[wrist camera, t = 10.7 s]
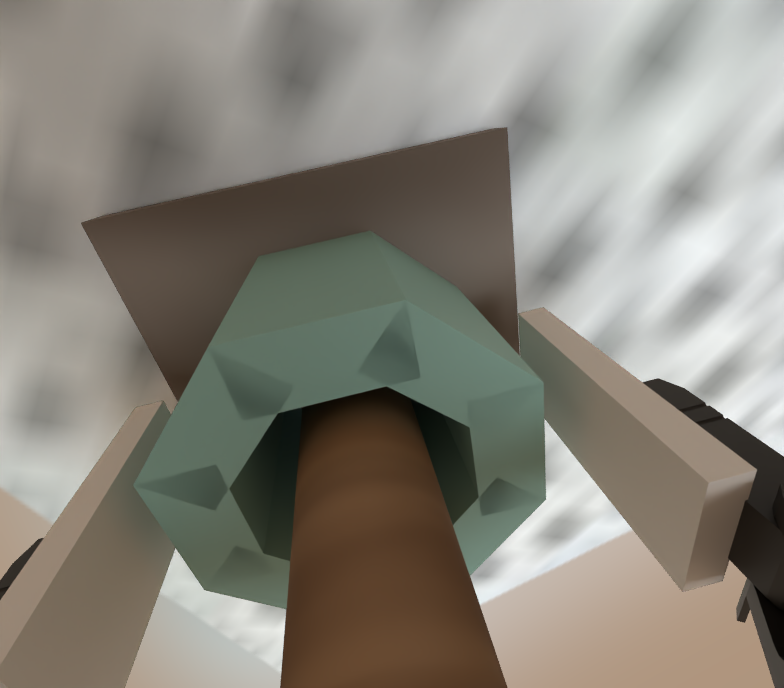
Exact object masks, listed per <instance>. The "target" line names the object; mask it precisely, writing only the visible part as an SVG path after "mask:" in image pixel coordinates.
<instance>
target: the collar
mask: <svg viewBox="0 0 784 688" xmlns="http://www.w3.org/2000/svg"><path fill="white" fill-rule="evenodd" d="M386 386H387V387H389V388H391V389H393V390H395V391H397V392H399V393H401V394H403V395H405V396H407V397H409V398H410V400H411V403H412V406H413V408H414V411H415V414H416V417H417V420H418V423H419V426H420V429H421V432H422V435H423V438H424V441H425V444H426V447H427V450H428V453H429V456H430V459H431V462H432V465H433V468H434V471H435V474H436V477H437V480H438V483H439V486H440V489H441V492H442V495H443V498H444V501H445V504H446V507H447V510H448V513H449V515H450V518H451V521H452V524H453V527H454V530H455V533H456V536H457V539H458V542H459V545H460V548H461V551H462V554H463V557H464V560H465V563H466V566H467V569H468V572H469V575H471V574H472V573H473V572H474V571H475V570H476V569H477V568H478V567H479V566H480V565H481V564H482V563H483V562H484V561H485V560H486V559H487V558H488V557H489V556H490V555H491V554H492V553H493V552H494V551H495V550H496V549H497V548H498V547H499V546H500V545H501V544H502V543H503V542H504V541H505V540H506V539H507V538H508V537H509V536H510V535H511V534H512V533H513V532H514V531H515V530H516V529H517V528H518V527H519V526H520V525H521V524H522V523H523V522H524V521H525V520H526V519H527V518H528V517H529V516H530V515H531V514H532V513H533V512H534V511H535V510H536V509H537V508H538V507H539V506H540V505H541V504H542V503H543V502H544V501H545V500H546V480H545V431H544V382H543V381H542V380H541V379H540V378H539V377H538V375H537V374H536V373H535V372H534V371H533V370H532V369H531V368H530V367H529V366H528V365H527V363H526V362H525V361H524V360H523V359H522V358H521V357H520V356H519V355H518V354H517V352H516V351H515V350H514V349H513V348H512V347H511V346H510V345H509V344H508V343H507V341H506V340H505V339H504V338H503V337H502V336H501V335H500V334H499V333H498V332H497V330H496V329H495V328H494V327H493V326H492V325H491V324H490V323H489V322H488V321H487V319H486V318H485V317H484V316H483V315H482V314H481V313H480V312H479V311H478V310H477V309H476V307H475V306H474V305H473V304H472V303H471V302H470V301H469V300H468V299H467V298H466V296H465V295H464V294H463V293H462V292H461V291H460V290H459V289H458V288H457V287H456V286H455V285H453V284H452V283H450V282H449V281H447V280H445V279H444V278H442V277H441V276H439V275H438V274H436V273H435V272H433V271H432V270H430V269H429V268H427V267H425V266H424V265H422V264H421V263H419V262H418V261H416V260H415V259H413V258H412V257H410V256H409V255H407V254H405V253H404V252H402V251H401V250H399V249H398V248H396V247H395V246H393V245H392V244H390V243H389V242H387V241H385V240H384V239H382V238H381V237H379V236H378V235H376V234H375V233H373V232H372V231H366V232H362V233H358V234H353V235H349V236H345V237H340V238H336V239H331V240H327V241H323V242H318V243H314V244H310V245H305V246H301V247H297V248H292V249H288V250H283V251H279V252H275V253H270V254H266V255H262V256H258V258H257V260H256V262H255V263H254V265H253V267H252V269H251V271H250V272H249V274H248V276H247V278H246V279H245V281H244V283H243V285H242V287H241V288H240V290H239V292H238V294H237V296H236V297H235V299H234V301H233V303H232V305H231V306H230V308H229V310H228V312H227V313H226V315H225V317H224V319H223V321H222V322H221V324H220V326H219V328H218V330H217V331H216V333H215V335H214V337H213V339H212V340H211V342H210V344H209V346H208V348H207V350H206V351H205V353H204V355H203V357H202V359H201V361H200V363H199V364H198V366H197V368H196V370H195V372H194V374H193V376H192V377H191V379H190V381H189V383H188V385H187V387H186V388H185V390H184V392H183V394H182V396H181V398H180V400H179V401H178V403H177V405H176V407H175V409H174V411H173V413H172V414H171V416H170V418H169V420H168V422H167V424H166V425H165V427H164V429H163V431H162V433H161V435H160V437H159V438H158V440H157V442H156V444H155V446H154V448H153V450H152V451H151V453H150V455H149V457H148V459H147V461H146V462H145V464H144V466H143V468H142V470H141V472H140V474H139V475H138V477H137V479H136V481H135V483H134V484H133V486H134V488H135V489H136V491H137V492H138V494H139V495H140V496H141V498H142V499H143V501H144V502H145V504H146V505H147V507H148V508H149V510H150V511H151V513H152V514H153V515H154V517H155V518H156V520H157V521H158V523H159V524H160V526H161V527H162V529H163V530H164V532H165V533H166V534H167V536H168V537H169V539H170V540H171V542H172V543H173V545H174V546H175V548H176V549H177V551H178V552H179V554H180V555H181V556H182V558H183V559H184V561H185V562H186V564H187V565H188V567H189V568H190V570H191V571H192V573H193V574H194V575H195V577H196V578H197V580H198V581H199V583H200V584H201V586H202V587H203V589H204V590H206V591H211V592H215V593H219V594H224V595H228V596H232V597H236V598H241V599H245V600H249V601H254V602H258V603H262V604H267V605H271V606H275V607H280V608H284V609H287V596H288V584H289V571H290V558H291V545H292V533H293V520H294V507H295V494H296V482H297V469H298V456H299V443H300V431H301V418H302V409H301V407H305V406H309V405H313V404H317V403H321V402H325V401H329V400H333V399H337V398H341V397H345V396H349V395H353V394H357V393H361V392H365V391H369V390H373V389H377V388H382V387H386Z"/></svg>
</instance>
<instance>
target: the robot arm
mask: <svg viewBox="0 0 784 688" xmlns="http://www.w3.org/2000/svg"><path fill="white" fill-rule="evenodd" d="M518 319H519V338H520V356H521V358H522V359H523V360H524V361H525V362H526V363H527V365H528V366H529V367H530V368H531V369H532V370H533V371H534V372H535V373H536V374H537V375H538V377H539V378H540V379H541V380H542V381H543V382H544V418H545V420H546V421H547V422H548V423H549V425H550V426H551V427H552V428H553V430H554V431H555V432H556V434H557V435H558V436H559V437H560V439H561V440H562V441H563V442H564V444H565V445H566V446H567V447H568V449H569V450H570V451H571V452H572V454H573V455H574V456H575V457H576V459H577V460H578V461H579V462H580V464H581V465H582V466H583V467H584V469H585V470H586V471H587V472H588V474H589V475H590V476H591V478H592V479H593V480H594V481H595V483H596V484H597V485H598V486H599V488H600V489H601V490H602V491H603V493H604V494H605V495H606V496H607V498H608V499H609V500H610V501H611V503H612V504H613V505H614V506H615V508H616V509H617V510H618V511H619V513H620V514H621V515H622V517H623V518H624V519H625V520H626V522H627V523H628V524H629V525H630V527H631V528H632V529H633V530H634V532H635V533H636V534H637V535H638V537H639V538H640V539H641V540H642V542H643V543H644V544H645V545H646V547H647V548H648V549H649V550H650V552H651V553H652V554H653V555H654V557H655V558H656V559H657V560H658V562H659V563H660V564H661V565H662V567H663V568H664V569H665V571H666V572H667V573H668V574H669V576H671V578H672V579H673V581H674V582H675V583H676V584H677V585H678V587H679V588H680V589H681V591H682V592H685V591H689V590H692V589H696V588H699V587H703V586H706V585H710V584H714V583H717V582H720V581H723V579H724V575H725V572H726V569H727V566H728V562H729V560H730V561H731V562H733V564H734V565H735V566H736V567H737V568H738V569H739V570H740V571H741V572H742V573H743V574H744V575H745V576H746V577H747V580H746V583H745V586H744V588H743V591H742V594H741V597H740V599H739V602H738V605H737V621H740V622H745V621H746V619H747V616H748V613H749V611H750V610H751V613H752V616H753V620H754V623H755V626H756V629H757V632H758V635H759V639H760V642H761V645H762V648H763V651H764V654H765V658H766V661H767V664H768V667H769V670H770V674H771V676H772V680H773V683H774V686H775V688H784V457H783V456H782V455H781V454H779V453H778V452H776V451H775V450H773V449H772V448H770V447H769V446H767V445H766V444H765V443H763V442H762V441H760V440H759V439H757V438H756V437H754V436H753V435H751V434H750V433H749V432H747V431H746V430H744V429H743V428H741V427H740V426H738V425H737V424H735V423H734V422H733V421H731V420H730V419H728V418H726V419H725V418H724V417H723V415H722V414H721V413H719V412H718V411H717V410H715V409H714V408H712V407H711V406H706V404H705V402H703V401H702V400H701V399H699V398H698V397H696V396H695V395H693V394H692V393H690V392H689V391H687V390H686V389H685V388H682V387H679V386H677V385H674V384H672V383H669V382H666V381H664V380H661V379H654V380H650V381H646V382H641V381H640V380H638V379H637V378H636V377H634V376H633V375H632V374H630V373H629V372H628V371H627V370H625V369H624V368H623V367H621V366H620V365H619V364H617V363H616V362H615V361H613V360H612V359H611V358H609V357H608V356H607V355H605V354H604V353H603V352H602V351H600V350H599V349H598V348H596V347H595V346H594V345H592V344H591V343H590V342H588V341H587V340H586V339H584V338H583V337H582V336H580V335H579V334H578V333H576V332H575V331H574V330H573V329H571V328H570V327H569V326H567V325H566V324H565V323H563V322H562V321H561V320H559V319H558V318H557V317H555V316H554V315H553V314H551V313H550V312H549V311H548V310H546V309H545V308H544V307H543V308H539V309H534V310H530V311H526V312H522V313H518ZM170 416H171V414H170V412H169V410H168V408H167V407H166V405H165V403H164V401H159V402H155V403H151V404H147V405H143V406H139V407H136V408H135V409H134V411H133V412H132V413H131V415H130V416H129V418H128V419H127V420H126V422H125V423H124V425H123V426H122V428H121V429H120V430H119V432H118V433H117V435H116V436H115V438H114V439H113V440H112V442H111V443H110V445H109V446H108V448H107V449H106V450H105V452H104V453H103V455H102V456H101V458H100V459H99V460H98V462H97V463H96V465H95V466H94V468H93V469H92V470H91V472H90V473H89V475H88V476H87V477H86V479H85V480H84V482H83V483H82V485H81V486H80V487H79V489H78V490H77V492H76V493H75V495H74V496H73V497H72V499H71V500H70V502H69V503H68V505H67V506H66V507H65V509H64V510H63V512H62V513H61V515H60V516H59V517H58V519H57V520H56V522H55V523H54V524H53V526H52V527H51V529H50V530H49V532H48V533H47V534H46V536H45V537H44V538H41V539H38V540H37V541H36V542H35V543H34V544H33V545H32V546H31V547H30V548H29V549H28V550H27V551H26V552H24V553H23V554H22V555H21V556H20V557H19V558H18V559H17V560H16V561H15V562H14V563H13V564H12V565H11V567H10V568H9V569H8V571H7V573H6V574H5V575H4V576H3V578H2V579H1V580H0V688H125V686H126V683H127V680H128V677H129V674H130V672H131V669H132V666H133V664H134V661H135V658H136V655H137V652H138V650H139V647H140V644H141V641H142V639H143V636H144V633H145V630H146V628H147V625H148V622H149V619H150V617H151V614H152V611H153V608H154V606H155V603H156V600H157V597H158V595H159V592H160V589H161V586H162V584H163V581H164V578H165V575H166V573H167V570H168V567H169V564H170V561H171V559H172V556H173V553H174V550H175V546H174V545H173V543H172V542H171V540H170V539H169V537H168V536H167V534H166V533H165V532H164V530H163V529H162V527H161V526H160V524H159V523H158V521H157V520H156V518H155V517H154V515H153V514H152V513H151V511H150V510H149V508H148V507H147V505H146V504H145V502H144V501H143V499H142V498H141V496H140V495H139V494H138V492H137V491H136V489H135V488H134V486H133V484H134V483H135V481H136V479H137V477H138V475H139V474H140V472H141V470H142V468H143V466H144V464H145V462H146V461H147V459H148V457H149V455H150V453H151V451H152V450H153V448H154V446H155V444H156V442H157V440H158V438H159V437H160V435H161V433H162V431H163V429H164V427H165V425H166V424H167V422H168V420H169V418H170Z"/></svg>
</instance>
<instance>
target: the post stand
mask: <svg viewBox="0 0 784 688" xmlns="http://www.w3.org/2000/svg"><path fill="white" fill-rule="evenodd" d="M81 224H82V226H83V228H84V230H85V232H86V233H87V235H88V237H89V239H90V241H91V243H92V244H93V246H94V248H95V250H96V252H97V254H98V256H99V257H100V259H101V261H102V263H103V265H104V267H105V268H106V270H107V272H108V274H109V276H110V278H111V279H112V281H113V283H114V285H115V287H116V289H117V291H118V292H119V294H120V296H121V298H122V300H123V302H124V303H125V305H126V307H127V309H128V311H129V313H130V314H131V316H132V318H133V320H134V322H135V324H136V326H137V327H138V329H139V331H140V333H141V335H142V337H143V338H144V340H145V342H146V344H147V346H148V348H149V350H150V351H151V353H152V355H153V357H154V359H155V361H156V362H157V364H158V366H159V368H160V370H161V372H162V373H163V375H164V377H165V379H166V381H167V383H168V385H169V386H170V388H171V390H172V392H173V394H174V396H175V397H176V399H177V401H179V400H180V398H181V396H182V394H183V392H184V390H185V388H186V387H187V385H188V383H189V381H190V379H191V377H192V376H193V374H194V372H195V370H196V368H197V366H198V364H199V363H200V361H201V359H202V357H203V355H204V353H205V351H206V350H207V348H208V346H209V344H210V342H211V340H212V339H213V337H214V335H215V333H216V331H217V330H218V328H219V326H220V324H221V322H222V321H223V319H224V317H225V315H226V313H227V312H228V310H229V308H230V306H231V305H232V303H233V301H234V299H235V297H236V296H237V294H238V292H239V290H240V288H241V287H242V285H243V283H244V281H245V279H246V278H247V276H248V274H249V272H250V271H251V269H252V267H253V265H254V263H255V262H256V260H257V258H258V256H262V255H266V254H270V253H275V252H279V251H283V250H288V249H292V248H297V247H301V246H305V245H310V244H314V243H318V242H323V241H327V240H331V239H336V238H340V237H345V236H349V235H353V234H358V233H362V232H366V231H372V232H373V233H375V234H376V235H378V236H379V237H381V238H382V239H384V240H385V241H387V242H389V243H390V244H392V245H393V246H395V247H396V248H398V249H399V250H401V251H402V252H404V253H405V254H407V255H409V256H410V257H412V258H413V259H415V260H416V261H418V262H419V263H421V264H422V265H424V266H425V267H427V268H429V269H430V270H432V271H433V272H435V273H436V274H438V275H439V276H441V277H442V278H444V279H445V280H447V281H449V282H450V283H452V284H453V285H455V286H456V287H457V288H458V289H459V290H460V291H461V292H462V293H463V294H464V295H465V296H466V298H467V299H468V300H469V301H470V302H471V303H472V304H473V305H474V306H475V307H476V309H477V310H478V311H479V312H480V313H481V314H482V315H483V316H484V317H485V318H486V319H487V321H488V322H489V323H490V324H491V325H492V326H493V327H494V328H495V329H496V330H497V332H498V333H499V334H500V335H501V336H502V337H503V338H504V339H505V340H506V341H507V343H508V344H509V345H510V346H511V347H512V348H513V349H514V350H515V351H516V352H517V354H518V355H519V356H520V354H519V335H518V317H517V298H516V280H515V262H514V243H513V225H512V206H511V188H510V170H509V151H508V133H507V128H494V129H489V130H485V131H480V132H476V133H471V134H467V135H463V136H458V137H454V138H449V139H445V140H440V141H436V142H431V143H427V144H422V145H418V146H413V147H409V148H404V149H400V150H395V151H391V152H387V153H382V154H378V155H373V156H369V157H364V158H360V159H355V160H351V161H346V162H342V163H337V164H333V165H328V166H324V167H320V168H315V169H311V170H306V171H302V172H297V173H293V174H288V175H284V176H279V177H275V178H270V179H266V180H261V181H257V182H252V183H248V184H244V185H239V186H235V187H230V188H226V189H221V190H217V191H212V192H208V193H203V194H199V195H194V196H190V197H185V198H181V199H176V200H172V201H168V202H163V203H159V204H154V205H150V206H145V207H141V208H136V209H132V210H127V211H123V212H118V213H114V214H109V215H105V216H100V217H97V218H94V219H91V220H88V221H85V222H82V223H81ZM301 409H302V418H301V431H300V443H299V456H298V469H297V482H296V494H295V507H294V520H293V533H292V545H291V558H290V571H289V584H288V596H287V609H286V622H285V635H284V647H283V660H282V673H281V686H280V688H507V685H506V682H505V679H504V677H503V673H502V671H501V667H500V664H499V661H498V658H497V655H496V652H495V649H494V646H493V643H492V640H491V638H490V634H489V631H488V628H487V626H486V623H485V620H484V617H483V614H482V611H481V608H480V605H479V602H478V599H477V596H476V593H475V590H474V587H473V584H472V581H471V578H470V575H469V572H468V569H467V566H466V563H465V560H464V557H463V554H462V551H461V548H460V545H459V542H458V539H457V536H456V533H455V530H454V527H453V524H452V521H451V518H450V515H449V513H448V510H447V507H446V504H445V501H444V498H443V495H442V492H441V489H440V486H439V483H438V480H437V477H436V474H435V471H434V468H433V465H432V462H431V459H430V456H429V453H428V450H427V447H426V444H425V441H424V438H423V435H422V432H421V429H420V426H419V423H418V420H417V417H416V414H415V411H414V408H413V406H412V403H411V400H410V398H409V397H407V396H405V395H403V394H401V393H399V392H397V391H395V390H393V389H391V388H389V387H387V386H386V387H382V388H377V389H373V390H369V391H365V392H361V393H357V394H353V395H349V396H345V397H341V398H337V399H333V400H329V401H325V402H321V403H317V404H313V405H309V406H305V407H301Z"/></svg>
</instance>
